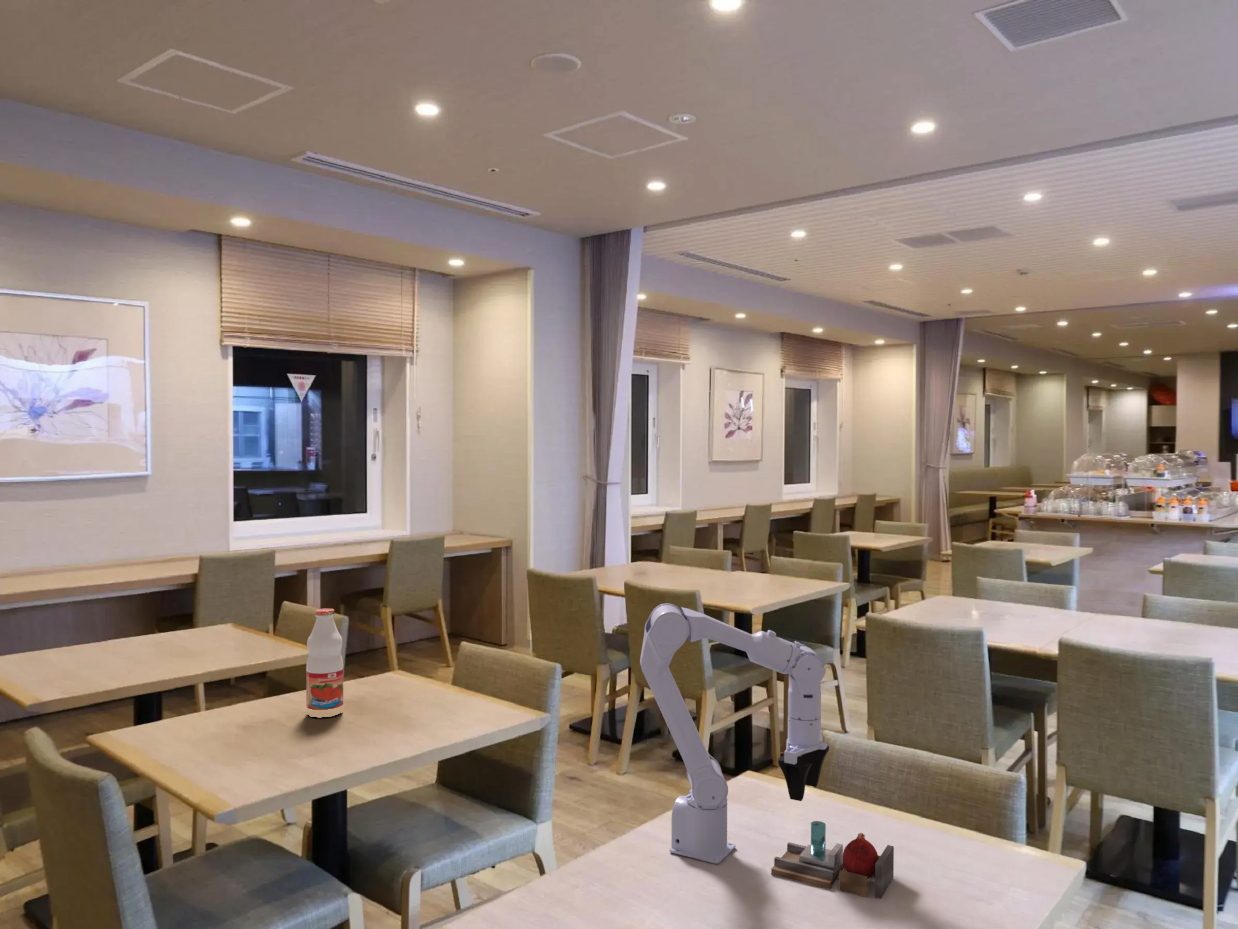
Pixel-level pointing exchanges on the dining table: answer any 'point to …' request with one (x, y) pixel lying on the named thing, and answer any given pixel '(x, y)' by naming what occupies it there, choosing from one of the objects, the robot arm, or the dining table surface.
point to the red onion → (860, 857)
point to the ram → (821, 850)
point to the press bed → (825, 877)
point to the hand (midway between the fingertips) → (803, 792)
